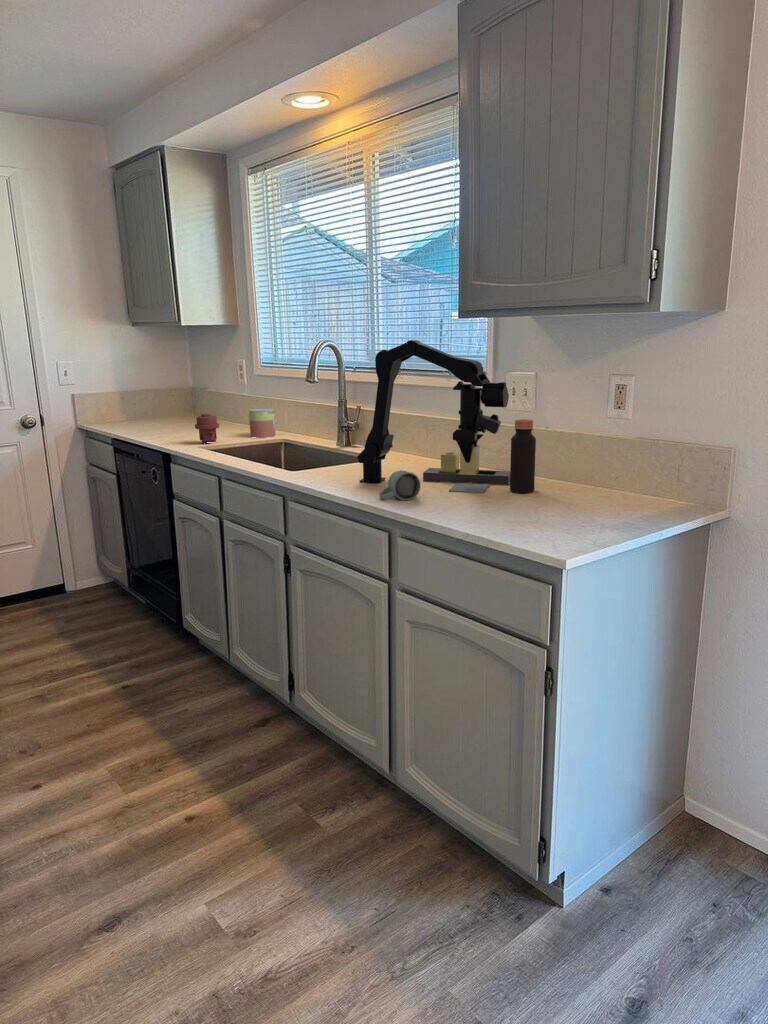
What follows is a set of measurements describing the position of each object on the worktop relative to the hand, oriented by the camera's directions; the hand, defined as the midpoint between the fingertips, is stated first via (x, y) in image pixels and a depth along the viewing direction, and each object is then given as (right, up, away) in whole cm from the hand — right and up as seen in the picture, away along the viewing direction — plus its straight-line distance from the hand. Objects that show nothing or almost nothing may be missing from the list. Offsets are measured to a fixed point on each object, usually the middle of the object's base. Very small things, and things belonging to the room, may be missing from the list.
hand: (469, 461), depth 203 cm
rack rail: (+1, -5, +14) cm, 15 cm away
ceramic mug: (-20, -11, -8) cm, 24 cm away
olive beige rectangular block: (0, -3, +1) cm, 4 cm away
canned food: (-79, +19, +116) cm, 141 cm away
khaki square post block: (-4, -4, +16) cm, 17 cm away
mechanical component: (-99, +15, +99) cm, 141 cm away
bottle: (+15, -9, -2) cm, 17 cm away
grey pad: (0, -8, +2) cm, 8 cm away
